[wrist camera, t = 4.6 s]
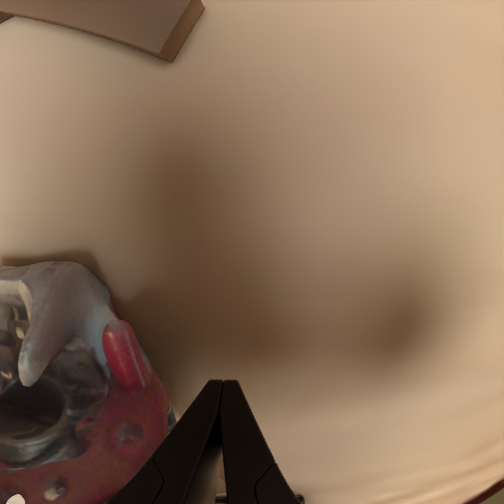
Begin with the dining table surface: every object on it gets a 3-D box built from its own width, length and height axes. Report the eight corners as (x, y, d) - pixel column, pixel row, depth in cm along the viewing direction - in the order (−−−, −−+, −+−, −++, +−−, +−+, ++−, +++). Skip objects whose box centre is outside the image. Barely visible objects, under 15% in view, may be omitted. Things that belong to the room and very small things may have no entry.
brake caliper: (132, 177, 7) (138, 663, 1) (210, 320, 17) (217, 538, 11) (-84, 227, 8) (-110, 500, 2) (40, 319, 17) (34, 498, 11)
